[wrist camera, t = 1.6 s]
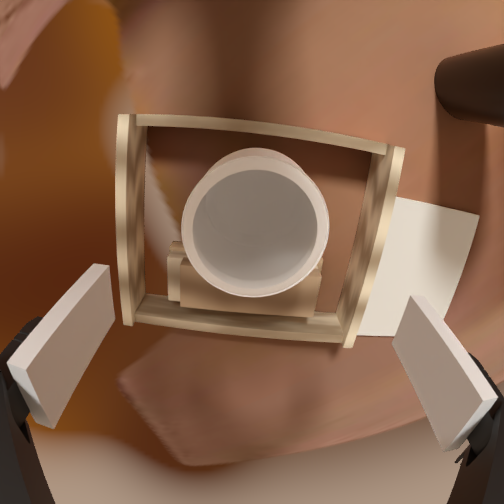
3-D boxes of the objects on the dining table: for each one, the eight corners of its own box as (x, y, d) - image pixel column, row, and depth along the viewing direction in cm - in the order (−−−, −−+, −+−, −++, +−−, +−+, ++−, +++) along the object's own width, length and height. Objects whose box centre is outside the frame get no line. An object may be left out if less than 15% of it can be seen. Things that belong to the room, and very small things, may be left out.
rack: (138, 114, 33) (118, 114, 27) (383, 143, 34) (405, 148, 28) (137, 299, 42) (123, 324, 36) (341, 320, 43) (352, 348, 37)
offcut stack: (173, 240, 39) (160, 261, 33) (320, 253, 39) (330, 276, 34) (173, 283, 41) (162, 309, 36) (311, 295, 42) (319, 322, 36)
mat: (381, 193, 36) (383, 194, 36) (477, 214, 37) (479, 215, 36) (344, 332, 44) (345, 334, 43) (434, 334, 44) (435, 336, 44)
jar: (242, 123, 33) (234, 124, 19) (319, 176, 35) (359, 213, 22) (191, 201, 37) (154, 252, 23) (265, 248, 39) (271, 321, 25)
